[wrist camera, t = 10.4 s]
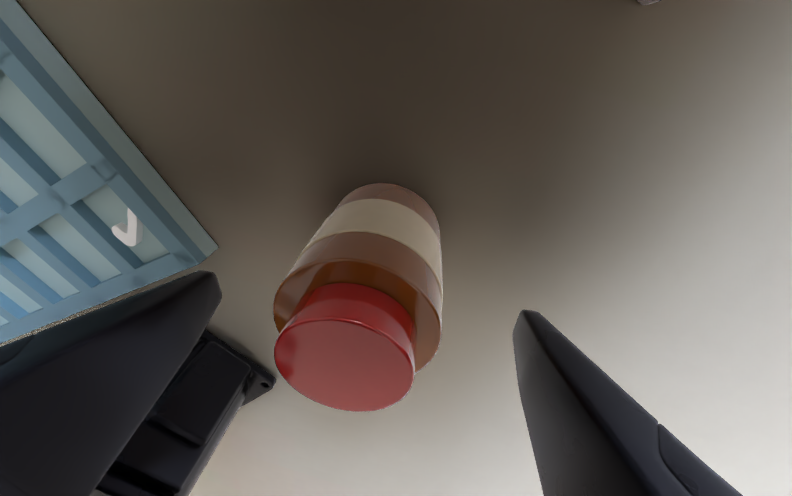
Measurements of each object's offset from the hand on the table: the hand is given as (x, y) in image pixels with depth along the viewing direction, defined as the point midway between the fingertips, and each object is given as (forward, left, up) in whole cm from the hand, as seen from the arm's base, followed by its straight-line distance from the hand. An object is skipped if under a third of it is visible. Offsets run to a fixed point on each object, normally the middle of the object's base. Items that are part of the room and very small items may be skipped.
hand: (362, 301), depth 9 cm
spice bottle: (0, 0, -4) cm, 4 cm away
